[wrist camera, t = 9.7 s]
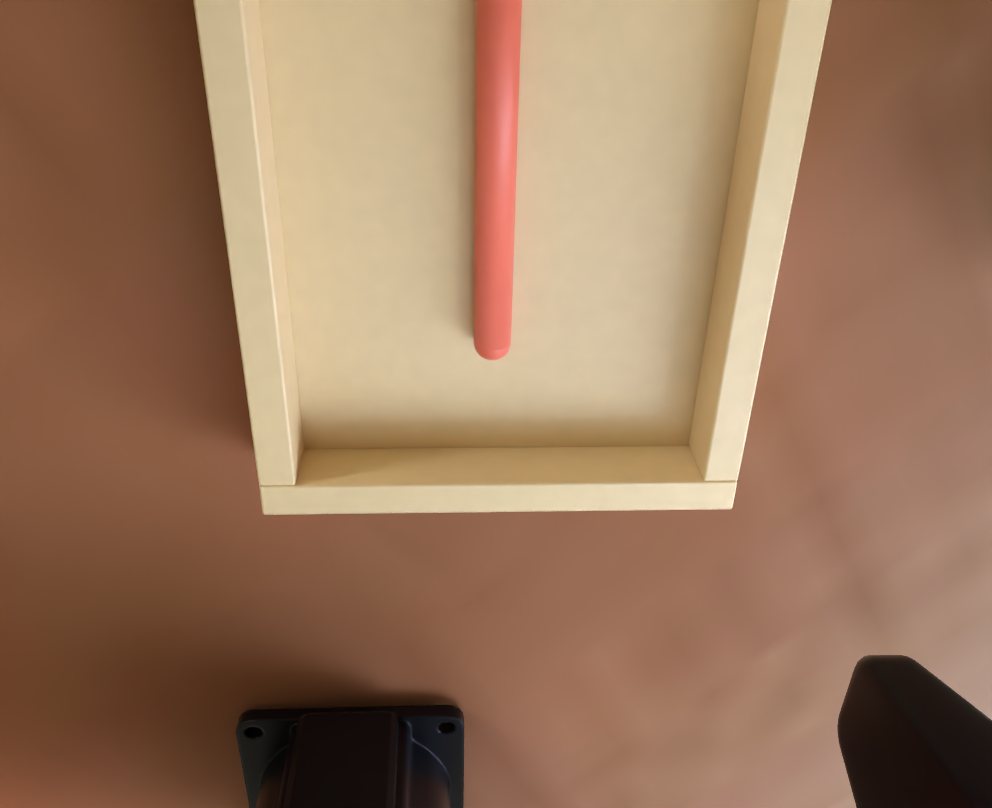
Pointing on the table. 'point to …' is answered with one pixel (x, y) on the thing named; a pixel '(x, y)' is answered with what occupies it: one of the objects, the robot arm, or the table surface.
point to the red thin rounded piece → (495, 172)
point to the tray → (537, 246)
